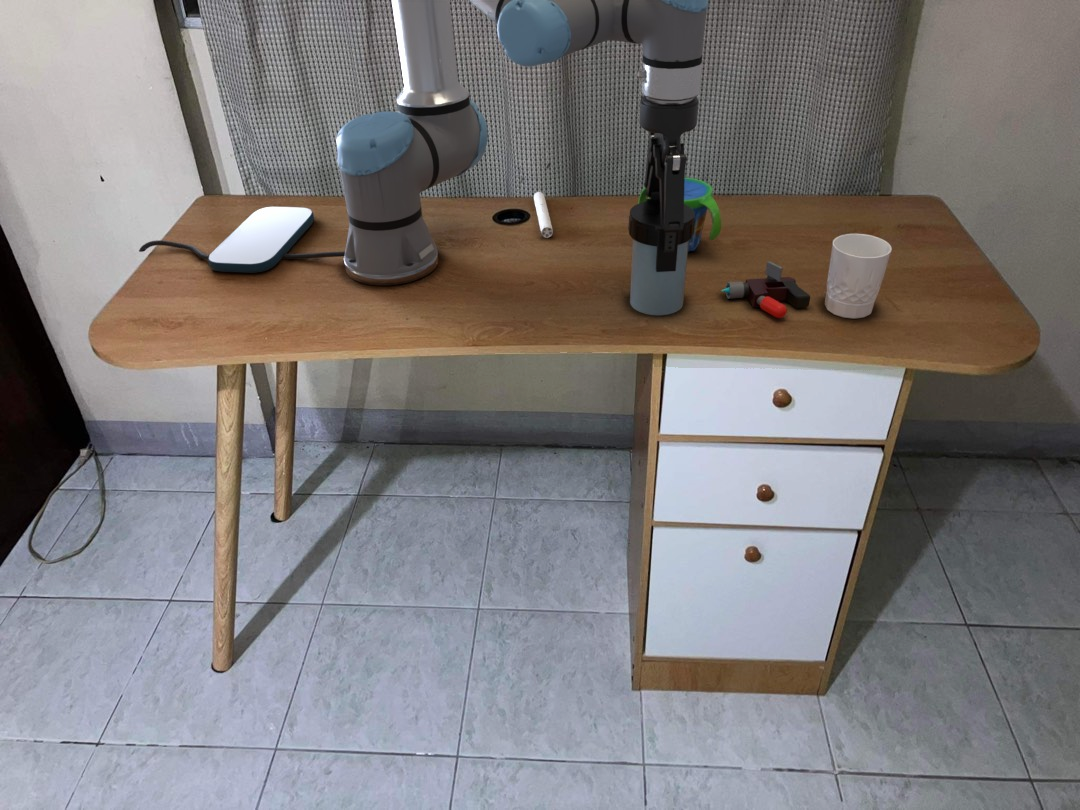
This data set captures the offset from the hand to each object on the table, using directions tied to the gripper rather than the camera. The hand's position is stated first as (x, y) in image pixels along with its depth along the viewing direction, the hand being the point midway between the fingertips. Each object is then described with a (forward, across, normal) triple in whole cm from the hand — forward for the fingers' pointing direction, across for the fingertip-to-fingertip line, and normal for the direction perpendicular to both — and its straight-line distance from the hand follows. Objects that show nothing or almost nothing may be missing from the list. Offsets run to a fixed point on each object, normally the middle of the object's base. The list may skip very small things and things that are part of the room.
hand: (659, 255), depth 121 cm
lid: (-6, 0, 0) cm, 6 cm away
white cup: (+8, +5, +28) cm, 29 cm away
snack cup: (+8, -19, +7) cm, 22 cm away
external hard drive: (+8, -28, -64) cm, 70 cm away
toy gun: (+8, +3, +16) cm, 18 cm away
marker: (+8, -34, -15) cm, 38 cm away
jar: (+8, 0, 0) cm, 8 cm away
